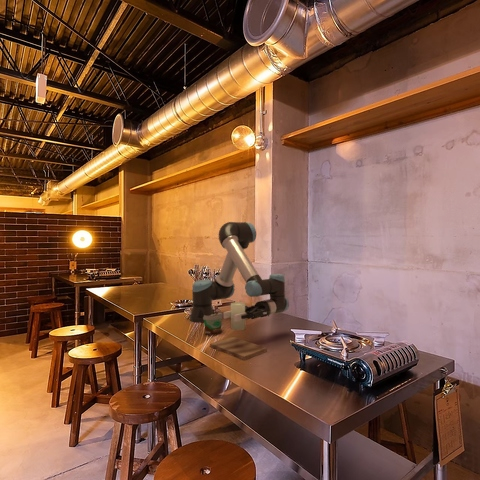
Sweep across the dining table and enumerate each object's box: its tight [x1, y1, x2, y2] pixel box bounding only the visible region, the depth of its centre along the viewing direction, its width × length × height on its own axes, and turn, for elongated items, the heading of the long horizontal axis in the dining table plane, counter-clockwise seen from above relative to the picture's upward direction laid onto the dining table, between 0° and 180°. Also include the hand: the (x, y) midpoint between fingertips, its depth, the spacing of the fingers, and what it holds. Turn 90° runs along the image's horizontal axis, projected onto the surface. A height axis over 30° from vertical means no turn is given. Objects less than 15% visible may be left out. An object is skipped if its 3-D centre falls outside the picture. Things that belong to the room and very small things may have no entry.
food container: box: [203, 310, 224, 336], centre depth 164 cm, size 12×6×10 cm, turn 143°
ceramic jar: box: [230, 301, 246, 331], centre depth 140 cm, size 6×6×11 cm
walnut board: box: [209, 336, 268, 361], centre depth 141 cm, size 22×14×2 cm, turn 44°
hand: (229, 316), depth 137 cm, fingers closed on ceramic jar, 6 cm apart
